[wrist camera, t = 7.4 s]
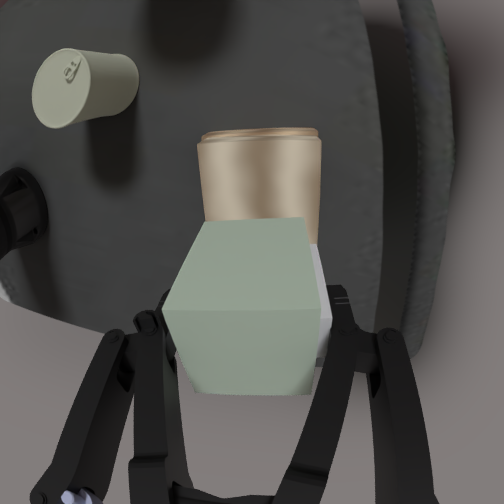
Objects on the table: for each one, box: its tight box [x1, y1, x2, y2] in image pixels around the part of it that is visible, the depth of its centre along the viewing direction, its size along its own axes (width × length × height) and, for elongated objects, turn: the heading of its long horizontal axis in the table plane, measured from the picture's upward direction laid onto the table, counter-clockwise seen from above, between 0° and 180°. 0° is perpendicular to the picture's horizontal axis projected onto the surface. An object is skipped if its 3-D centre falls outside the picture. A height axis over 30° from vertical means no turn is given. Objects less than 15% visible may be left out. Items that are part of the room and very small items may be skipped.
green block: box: [162, 217, 321, 396], centre depth 15 cm, size 6×6×8 cm
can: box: [32, 48, 139, 129], centre depth 25 cm, size 9×9×12 cm
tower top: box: [197, 135, 321, 244], centre depth 31 cm, size 12×12×4 cm
